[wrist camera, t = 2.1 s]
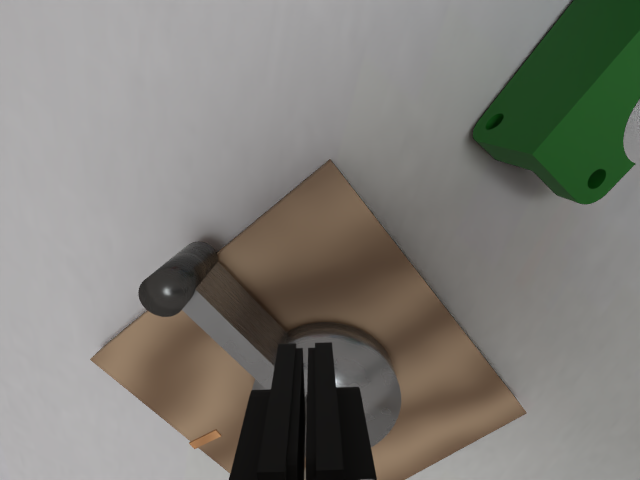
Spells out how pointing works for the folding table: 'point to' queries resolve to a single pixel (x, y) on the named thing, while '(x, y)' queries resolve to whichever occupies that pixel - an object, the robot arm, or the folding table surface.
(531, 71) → the clamp
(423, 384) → the stand base
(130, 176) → the folding table surface
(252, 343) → the crank wheel
